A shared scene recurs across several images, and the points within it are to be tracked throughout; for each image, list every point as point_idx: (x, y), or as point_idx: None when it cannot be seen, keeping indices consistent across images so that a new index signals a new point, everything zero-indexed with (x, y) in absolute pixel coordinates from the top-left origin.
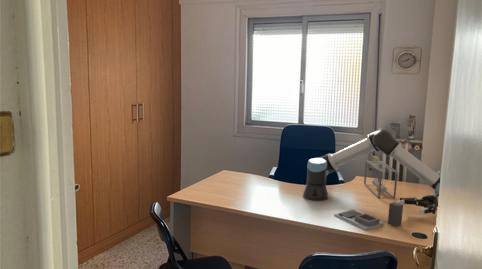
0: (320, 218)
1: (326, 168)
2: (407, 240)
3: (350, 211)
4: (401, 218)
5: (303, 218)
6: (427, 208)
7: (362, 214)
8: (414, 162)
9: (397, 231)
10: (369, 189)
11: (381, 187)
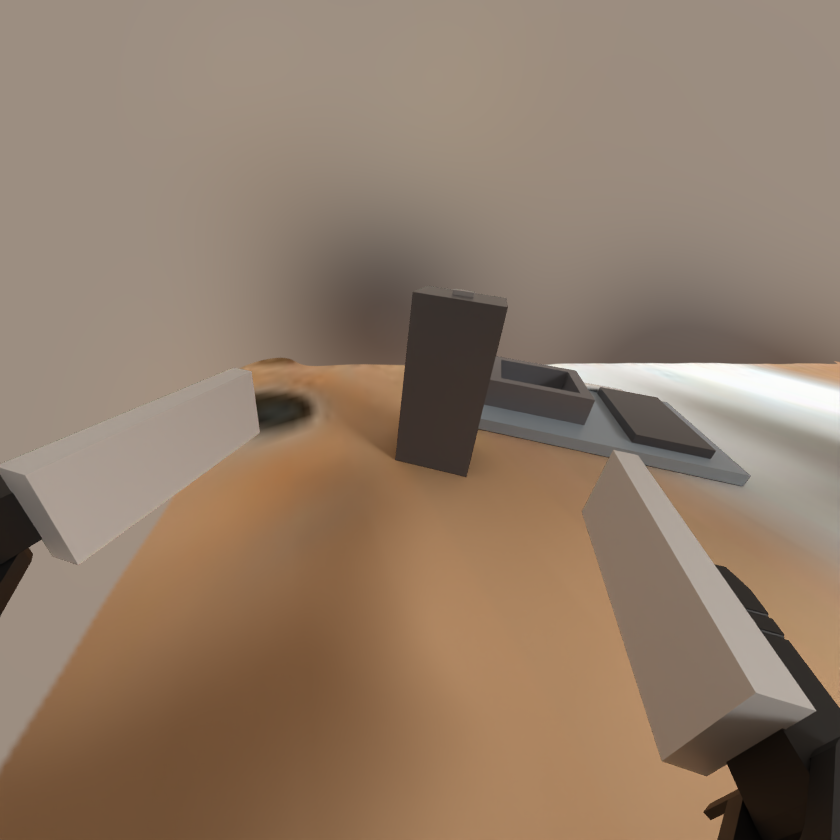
0: (643, 385)
1: None
2: (321, 370)
3: (683, 429)
4: (401, 409)
5: (653, 373)
6: (40, 454)
7: (581, 386)
8: None
9: (382, 403)
10: None
11: None
